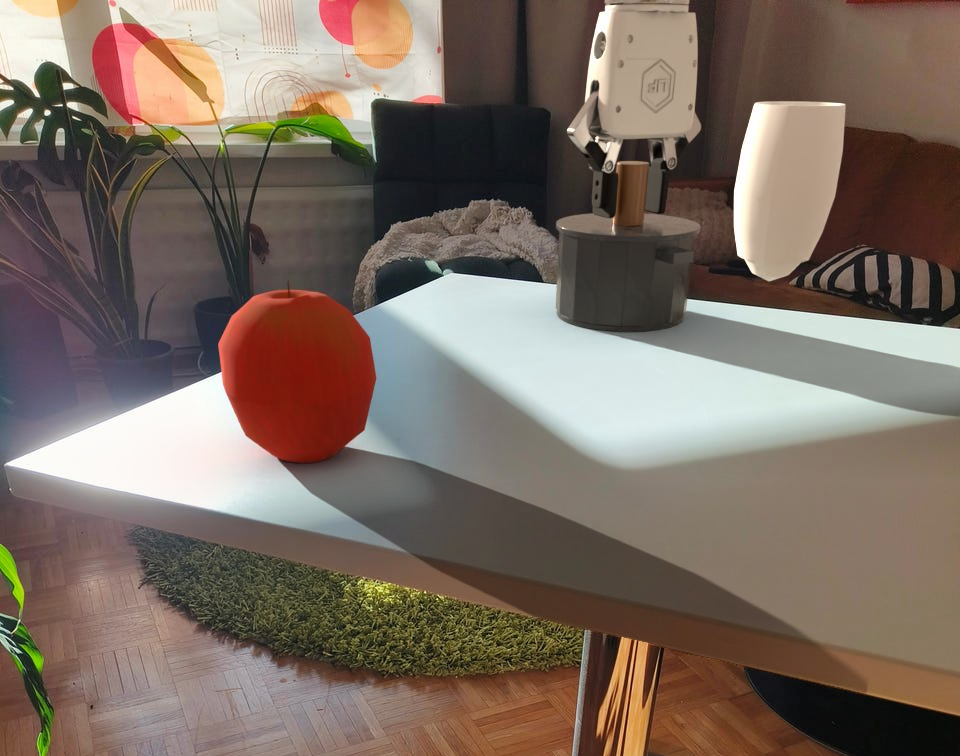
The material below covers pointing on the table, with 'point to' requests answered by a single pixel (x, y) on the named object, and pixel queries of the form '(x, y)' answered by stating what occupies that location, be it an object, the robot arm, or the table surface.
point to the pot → (623, 283)
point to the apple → (298, 373)
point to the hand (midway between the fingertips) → (628, 212)
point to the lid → (629, 214)
